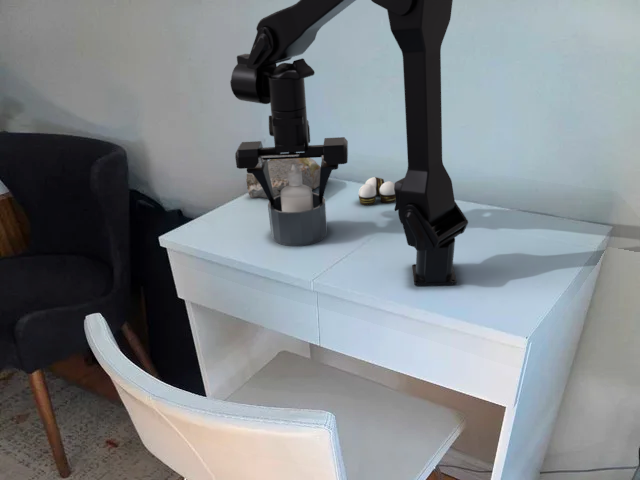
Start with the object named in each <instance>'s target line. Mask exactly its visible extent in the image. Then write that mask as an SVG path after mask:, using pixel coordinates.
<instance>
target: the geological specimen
mask: <svg viewBox="0 0 640 480" xmlns="http://www.w3.org/2000/svg"><path fill="white" fill-rule="evenodd" d="M294 163H295V164H296V166H297V169H298V170H299V171H301V172H302V184H303V185H306V186H308V187H310V188H311V189H312V190H315V189H317V188H319V186H320V169H321V165H320V164H318V162H317V161H316V160H315V159H314V158H294V159H272V160H268V170H269V175H270V180H271V185H272V189H273V194H274V197H276V196H279V195H281V190H282V189H283V188H284V187H286V186H288V185H289V183H288V172H289V171H291V168H292V164H294ZM245 180H246V189H247V191H248V193H247V194H248V196H249V198H251V199H257V198H265V199H268V198H267V196H266V194H265V192H264V190H263V188H262V186H261V185H260V183H259V182H258V181H257V179H256V178H255V176H254V175H253V174H252V173H247V172H246V178H245Z"/></svg>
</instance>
